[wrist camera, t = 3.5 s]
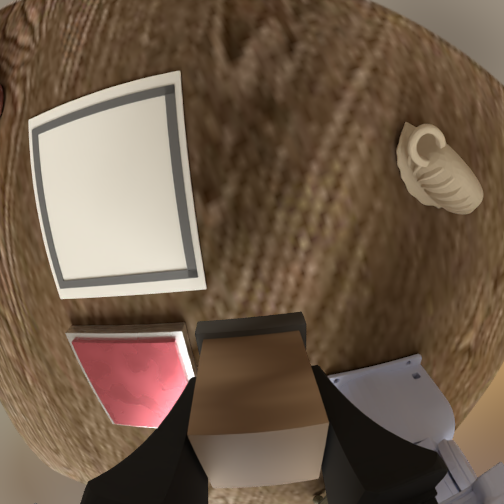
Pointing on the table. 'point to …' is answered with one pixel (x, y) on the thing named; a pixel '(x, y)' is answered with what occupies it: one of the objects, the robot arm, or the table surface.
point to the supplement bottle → (1, 99)
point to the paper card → (117, 192)
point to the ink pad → (135, 368)
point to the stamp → (256, 403)
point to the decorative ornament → (436, 170)
